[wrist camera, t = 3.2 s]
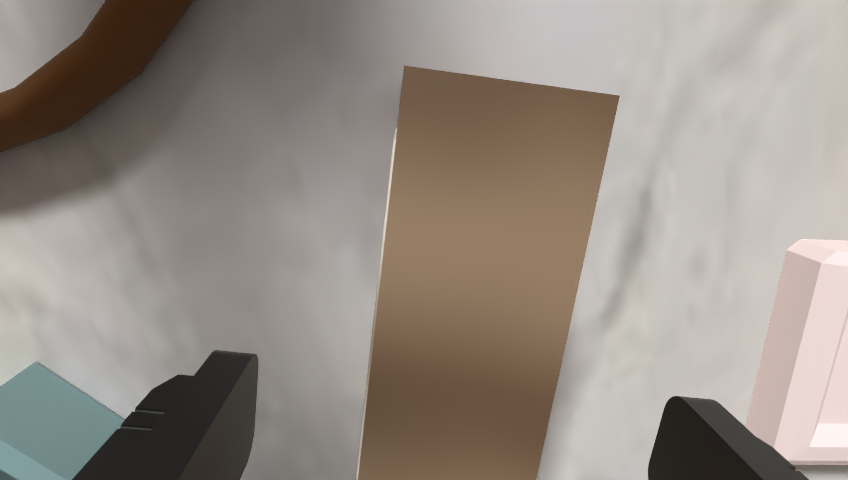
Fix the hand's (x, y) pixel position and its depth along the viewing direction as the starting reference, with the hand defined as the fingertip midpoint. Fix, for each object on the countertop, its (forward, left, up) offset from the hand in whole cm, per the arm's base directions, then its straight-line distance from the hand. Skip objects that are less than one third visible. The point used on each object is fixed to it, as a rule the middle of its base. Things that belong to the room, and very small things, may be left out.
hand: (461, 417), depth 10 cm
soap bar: (-8, +15, -11) cm, 20 cm away
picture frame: (0, 0, -10) cm, 10 cm away
